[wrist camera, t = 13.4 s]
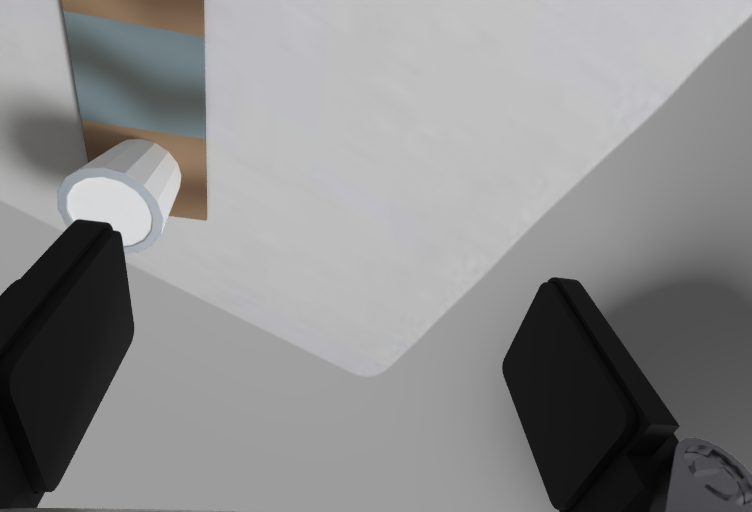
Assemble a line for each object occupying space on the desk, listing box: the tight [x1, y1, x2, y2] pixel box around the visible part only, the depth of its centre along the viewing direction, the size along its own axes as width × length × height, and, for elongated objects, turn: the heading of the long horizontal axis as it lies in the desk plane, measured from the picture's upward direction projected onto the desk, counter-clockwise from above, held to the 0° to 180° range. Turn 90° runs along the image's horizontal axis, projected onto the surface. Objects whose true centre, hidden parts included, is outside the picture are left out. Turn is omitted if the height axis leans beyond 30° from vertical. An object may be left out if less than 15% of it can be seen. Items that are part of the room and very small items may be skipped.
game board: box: [62, 0, 207, 220], centre depth 34 cm, size 22×9×1 cm, turn 169°
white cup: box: [57, 139, 181, 254], centre depth 35 cm, size 7×7×7 cm
